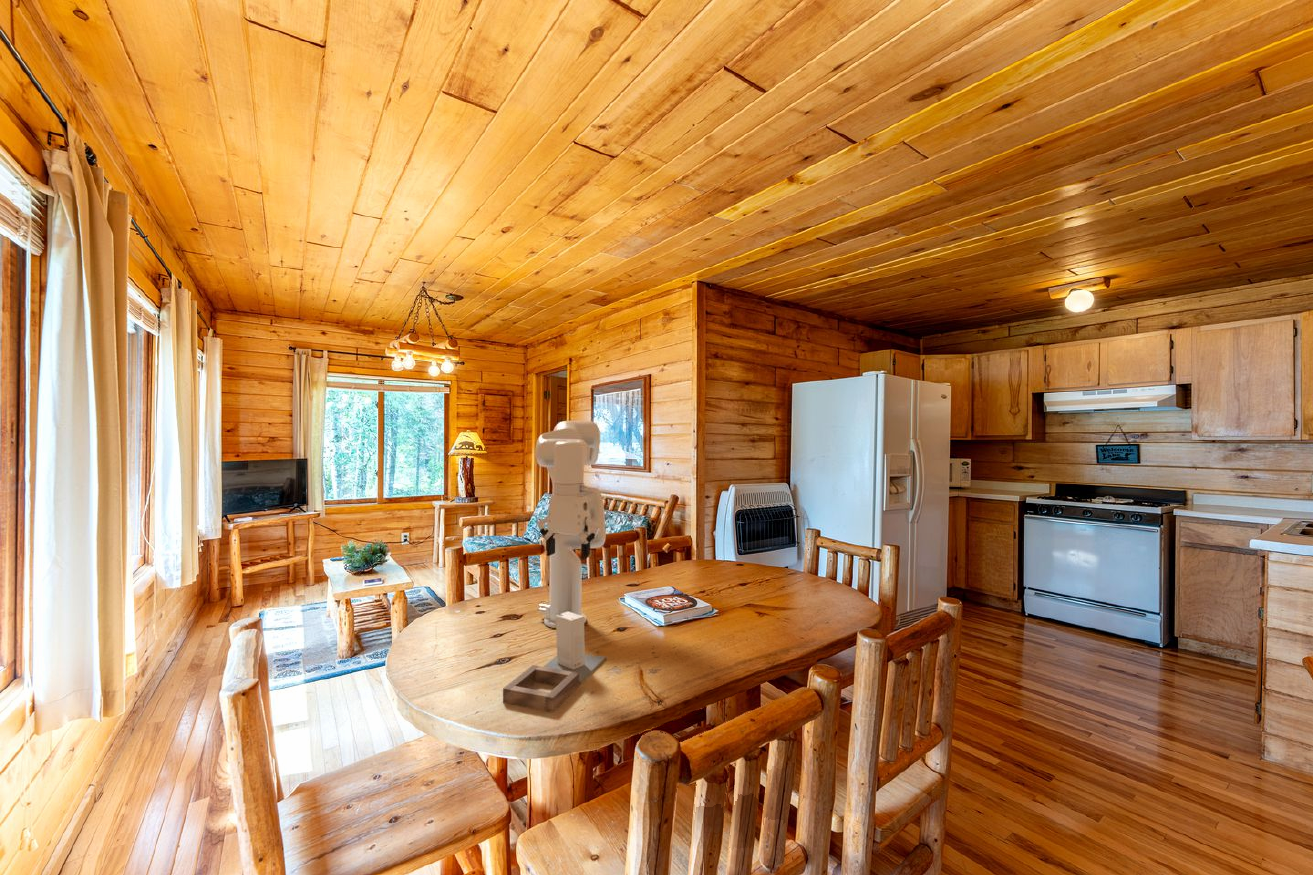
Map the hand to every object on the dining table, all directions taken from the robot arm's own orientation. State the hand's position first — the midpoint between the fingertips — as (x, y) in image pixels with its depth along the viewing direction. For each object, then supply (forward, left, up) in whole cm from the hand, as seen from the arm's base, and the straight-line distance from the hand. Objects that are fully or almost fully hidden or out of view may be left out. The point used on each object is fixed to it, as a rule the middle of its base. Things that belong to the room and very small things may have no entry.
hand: (567, 556), depth 138 cm
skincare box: (+3, -5, -25) cm, 26 cm away
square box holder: (+4, -19, -26) cm, 32 cm away
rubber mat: (+4, -5, -26) cm, 27 cm away
